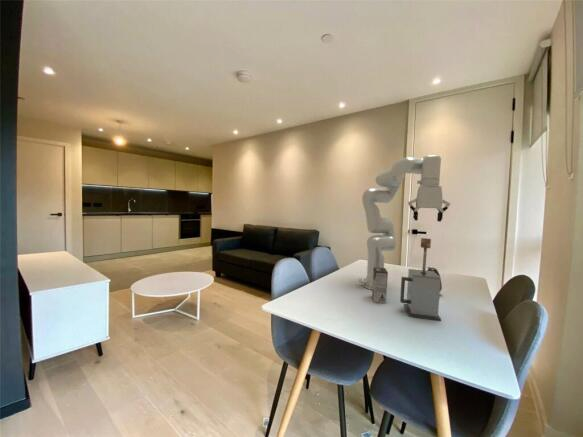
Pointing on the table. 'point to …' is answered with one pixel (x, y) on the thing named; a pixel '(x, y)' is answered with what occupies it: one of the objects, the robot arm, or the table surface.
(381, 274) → the coffee box
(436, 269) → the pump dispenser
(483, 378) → the table surface
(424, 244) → the plunger
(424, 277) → the press
